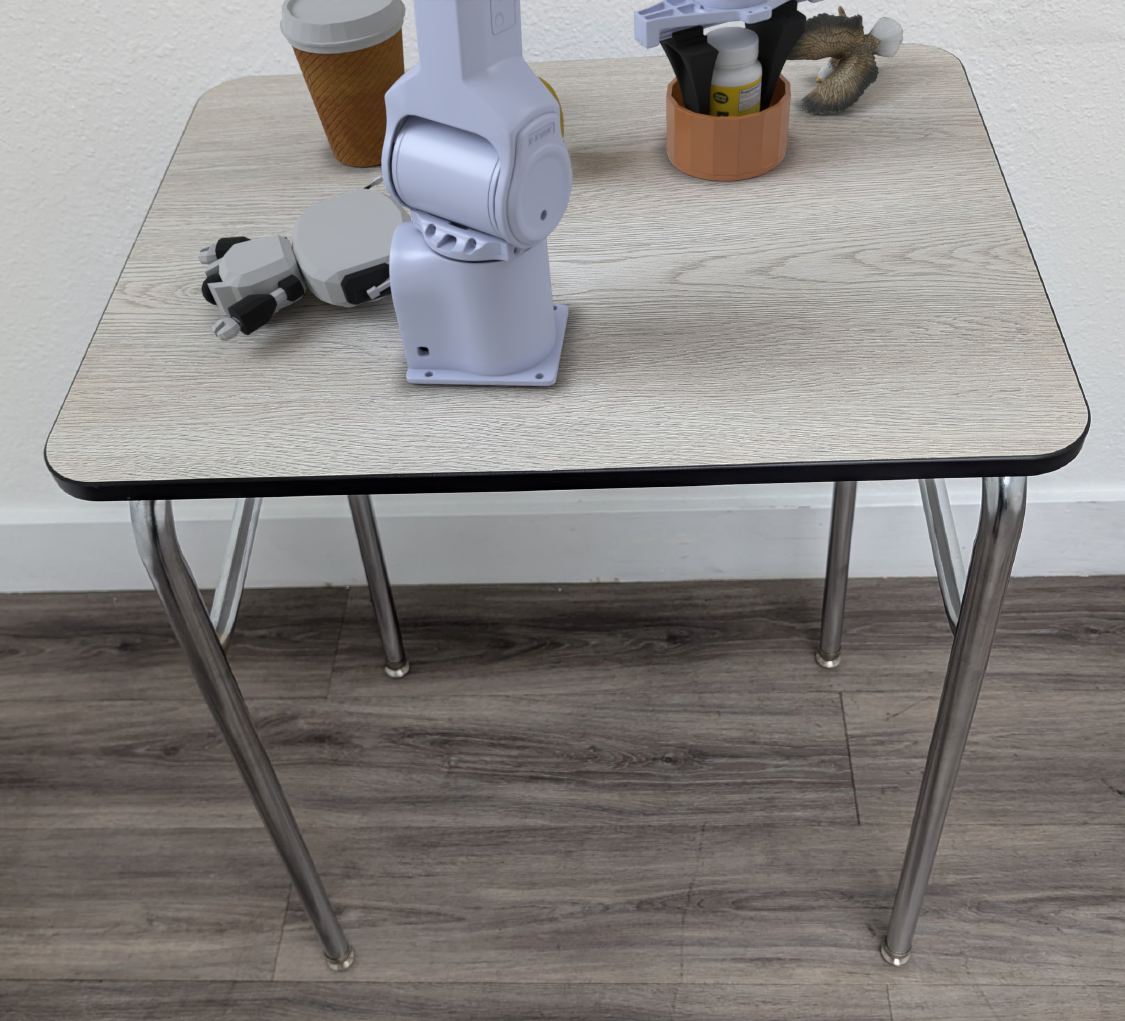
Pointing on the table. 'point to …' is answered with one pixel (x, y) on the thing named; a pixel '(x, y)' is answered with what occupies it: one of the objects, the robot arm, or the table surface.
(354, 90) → the disposable coffee cup
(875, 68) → the eagle figurine
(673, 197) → the table surface
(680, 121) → the copper cup
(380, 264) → the robot toy
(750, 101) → the supplement bottle
